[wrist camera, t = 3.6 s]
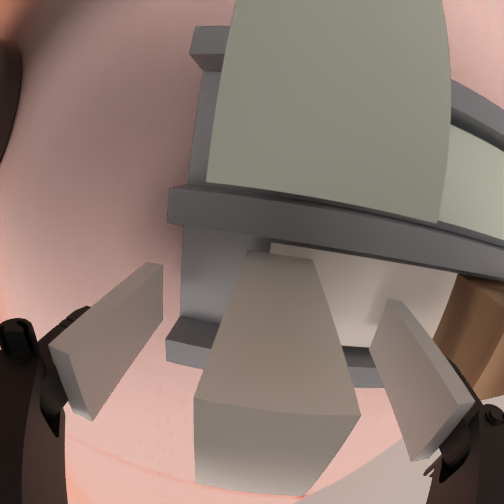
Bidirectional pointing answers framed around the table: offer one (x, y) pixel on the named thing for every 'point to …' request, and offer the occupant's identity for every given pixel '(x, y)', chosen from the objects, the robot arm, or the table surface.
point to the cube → (475, 333)
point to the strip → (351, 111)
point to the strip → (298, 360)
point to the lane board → (299, 223)
